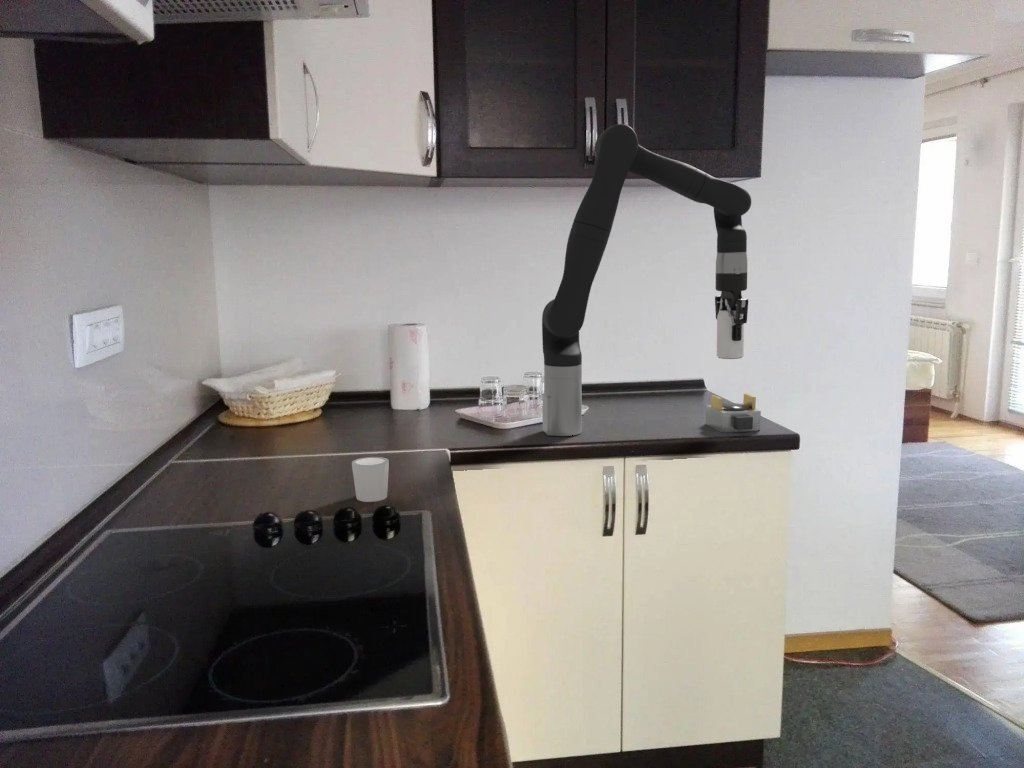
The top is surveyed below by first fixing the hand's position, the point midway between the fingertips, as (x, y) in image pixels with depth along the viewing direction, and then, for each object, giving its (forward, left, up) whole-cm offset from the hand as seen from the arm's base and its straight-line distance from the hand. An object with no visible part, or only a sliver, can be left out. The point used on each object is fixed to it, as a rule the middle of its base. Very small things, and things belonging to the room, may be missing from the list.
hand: (730, 338), depth 199 cm
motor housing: (+1, 0, -22) cm, 23 cm away
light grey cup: (-89, -39, -23) cm, 100 cm away
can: (0, 0, -5) cm, 5 cm away
